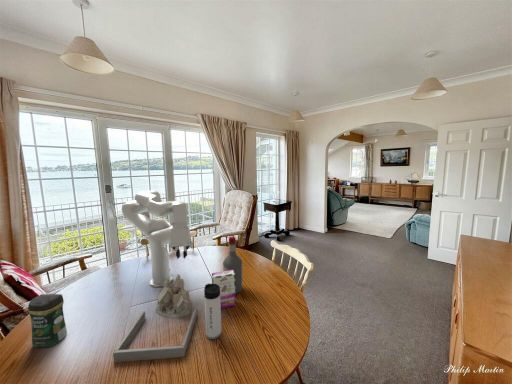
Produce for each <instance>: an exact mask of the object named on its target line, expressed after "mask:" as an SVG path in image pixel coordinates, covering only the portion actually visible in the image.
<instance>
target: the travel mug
mask: <svg viewBox="0 0 512 384" xmlns="http://www.w3.org/2000/svg"><path fill="white" fill-rule="evenodd" d="M203 289H204V291H203V292H204V294H203V295H204V296H203V298H204V320H205V321H204V322H205V323H204V324H205V336H206V338H207V339H208V340H215V339H218V338H219V337H220V336H221V335H222V317H221V316H222V312H221V311H222V308H221V302H220V287H219V285H217V284H212V283H206V284H205V285H204V288H203Z"/></svg>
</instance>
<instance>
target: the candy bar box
mask: <svg viewBox="0 0 512 384" xmlns="http://www.w3.org/2000/svg"><path fill="white" fill-rule="evenodd" d="M211 281H212V282H211V284H217V285H219V287H220V302H221V309H225V308H231V307H235V306H237V296H236V295H237V293H236V288H235V273H234V270H230V271H223V270H222V271H219V272H218V271H217V272H211Z"/></svg>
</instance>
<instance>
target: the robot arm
mask: <svg viewBox="0 0 512 384" xmlns="http://www.w3.org/2000/svg"><path fill="white" fill-rule="evenodd" d="M121 212H122V214H123V217H124V218H125V219H126V221H128V222H129V223H131V224H132V225H133V226H134V227H135V228H136V229H137V230H138V231H139V232H141V234H143V235H144V236H145V237H147V242H148V246H149V249H150V260H151V263H150V264H151V275H152V278H151V279H150V281H149V285H150V287H153V288H155V287H156V288H159V287H164V281H168V285H169V284H171V283H172V282H173V281H174V279H173V276H172V275H170V271H171V268H170V260H169V259H170V258H169V256H170V255H169V251H168V249H167V248H166V247H165V246H166V245H168V247H169V248H171V249H173V250H174V252H175V257H176V259H180V258H181V250H180V248H181V247H183V252H182V256H183V257H182V258H183V259H186V258H187V256H188V250H189V249H190V248H192V247H193V246H194V243H193V241H192V237H191V232H190V231H191V230H190V227H189V226H188V225H189V224H188V205H187V203H186V202H184V201H178V200H169V201H163V202H162V199H161V194H160V192H159V191H158V190H155V189H154V190H145V191H144V190H143V191H142V190H141V191H139V192H137V193H136V194H135V195H134V200H131V201H130V200H129V201H126V202H125V203H124V204H122V206H121ZM147 212H148V213H150V215H153V216H156V217H166V216H172V217H171V218H172V221H171V223H170V222H169V220H167V219H165V218H156V219H150V218H149V217H148V216H146V215H145V214H143V213H147ZM179 247H180V248H179Z"/></svg>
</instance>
